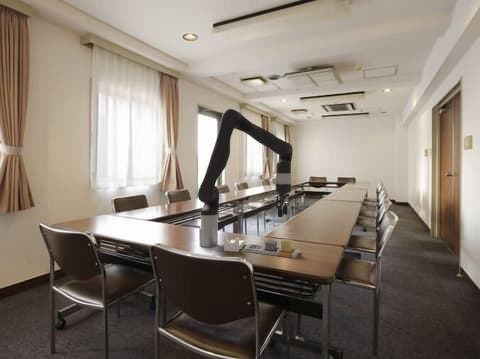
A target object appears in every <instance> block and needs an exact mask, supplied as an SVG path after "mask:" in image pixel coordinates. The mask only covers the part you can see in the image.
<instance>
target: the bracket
mask: <svg viewBox="0 0 480 359" xmlns="http://www.w3.org/2000/svg"><path fill="white" fill-rule="evenodd" d="M244 246H245V240H241V239H240V237H236V238H235V239H231V240H229V238H228V236H225V237H224V238H223V247H224V248H223V251H224V252H226V251H227V252H237V253H238V252H239V251H240V250H241V249H242V248H244Z"/></svg>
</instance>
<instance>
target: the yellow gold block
mask: <svg viewBox="0 0 480 359" xmlns="http://www.w3.org/2000/svg"><path fill="white" fill-rule="evenodd" d="M280 244H281V246H280V247H281V252H285V253H293V249H294V246H293V245H294V239H289V238H288V239H287V238H283V239H282V240H281V242H280Z"/></svg>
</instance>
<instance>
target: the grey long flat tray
mask: <svg viewBox="0 0 480 359" xmlns="http://www.w3.org/2000/svg"><path fill="white" fill-rule="evenodd" d="M243 252H245V253H246V252H247V253H253V254H260V255H267V256H268V255H269V256H275V257H283V258H291V259H296V258H297V257H298V255H299V254H300V249H297V248H293V253H285V252H281V246H277V251H276V252H275V251H267V250H265V244H264V245H262V244H254V243H249V244H247V245H246V246H245V247H243Z"/></svg>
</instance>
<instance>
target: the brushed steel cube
mask: <svg viewBox="0 0 480 359" xmlns="http://www.w3.org/2000/svg"><path fill="white" fill-rule="evenodd" d="M264 245H265V250H267V251H275V252H276V251H277V247H278V241H277V240H276V241H275V240H266V242H265V244H264Z"/></svg>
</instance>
